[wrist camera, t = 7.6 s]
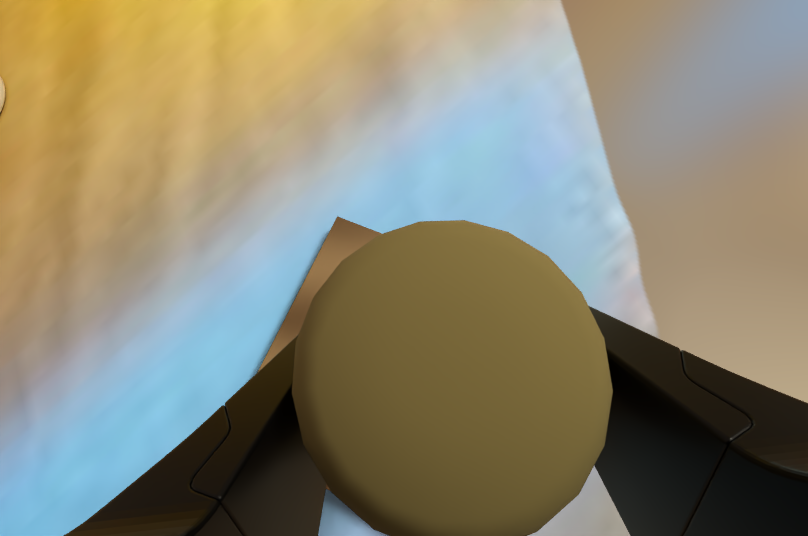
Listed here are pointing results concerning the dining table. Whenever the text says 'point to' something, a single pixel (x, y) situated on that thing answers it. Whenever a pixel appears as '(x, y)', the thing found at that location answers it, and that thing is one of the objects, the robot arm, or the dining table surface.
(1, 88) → the fruit juice
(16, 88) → the dining table surface
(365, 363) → the olive brown pestle
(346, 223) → the ring board
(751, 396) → the robot arm
